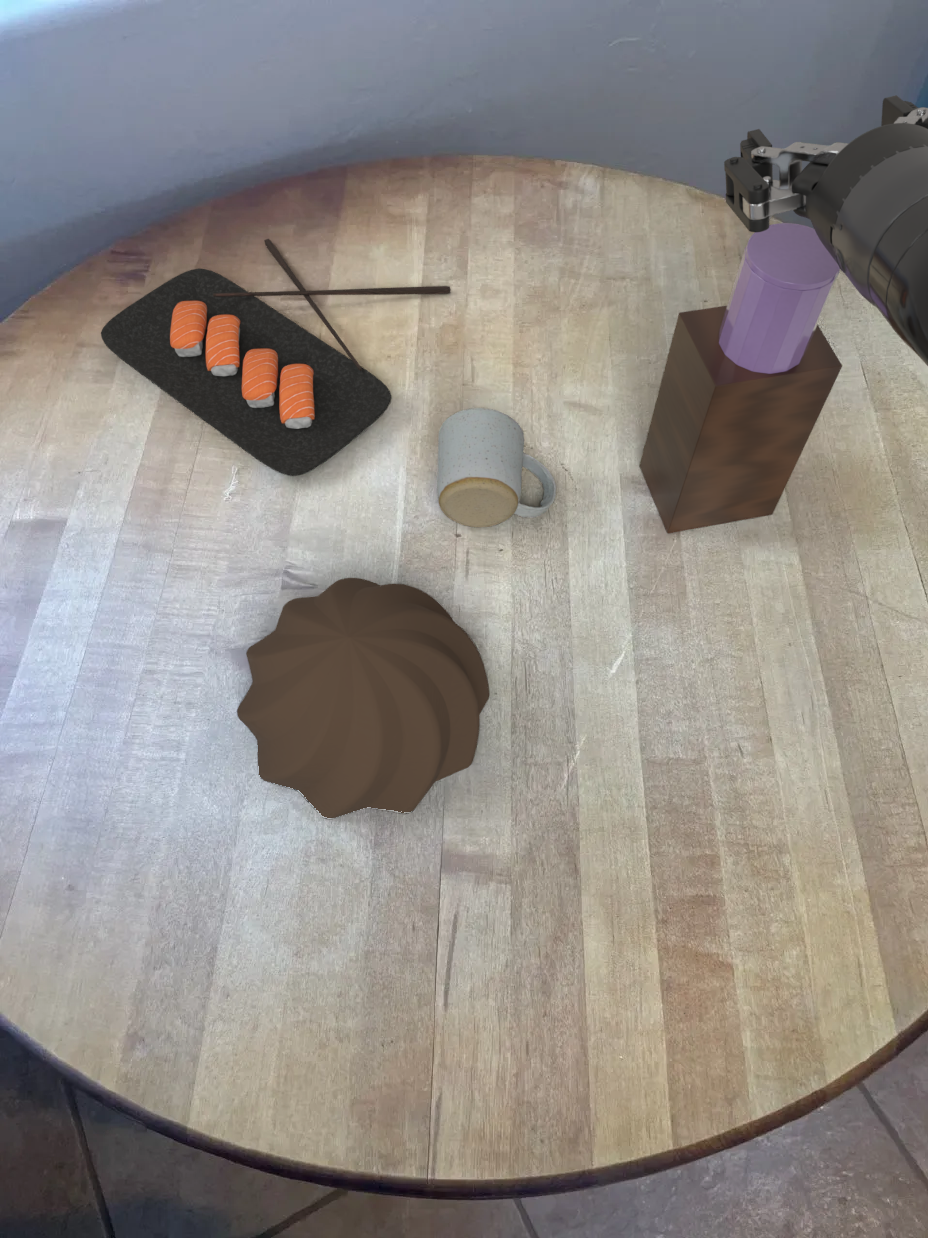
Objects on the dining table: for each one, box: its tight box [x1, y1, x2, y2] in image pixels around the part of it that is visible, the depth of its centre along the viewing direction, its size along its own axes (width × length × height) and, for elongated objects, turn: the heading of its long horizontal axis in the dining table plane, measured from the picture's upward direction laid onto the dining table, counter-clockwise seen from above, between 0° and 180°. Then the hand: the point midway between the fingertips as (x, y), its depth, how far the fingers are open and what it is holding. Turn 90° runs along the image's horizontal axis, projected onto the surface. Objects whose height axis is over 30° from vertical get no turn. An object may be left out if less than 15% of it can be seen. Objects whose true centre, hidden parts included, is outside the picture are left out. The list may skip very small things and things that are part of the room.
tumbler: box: [719, 222, 841, 374], centre depth 69 cm, size 6×6×8 cm
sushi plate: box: [100, 238, 451, 477], centre depth 96 cm, size 29×30×4 cm
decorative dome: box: [236, 577, 491, 819], centre depth 72 cm, size 19×20×10 cm
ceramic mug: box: [436, 407, 557, 528], centre depth 84 cm, size 11×8×8 cm
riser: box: [638, 304, 843, 534], centre depth 80 cm, size 10×8×18 cm
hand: (819, 129), depth 63 cm, fingers open, 8 cm apart
